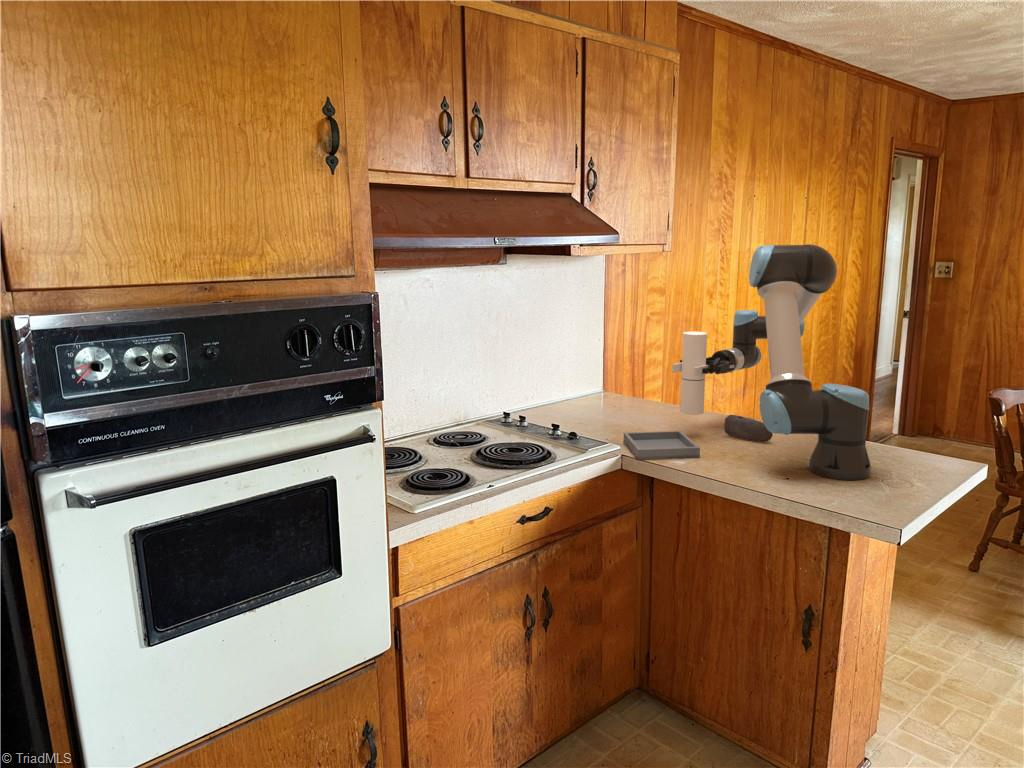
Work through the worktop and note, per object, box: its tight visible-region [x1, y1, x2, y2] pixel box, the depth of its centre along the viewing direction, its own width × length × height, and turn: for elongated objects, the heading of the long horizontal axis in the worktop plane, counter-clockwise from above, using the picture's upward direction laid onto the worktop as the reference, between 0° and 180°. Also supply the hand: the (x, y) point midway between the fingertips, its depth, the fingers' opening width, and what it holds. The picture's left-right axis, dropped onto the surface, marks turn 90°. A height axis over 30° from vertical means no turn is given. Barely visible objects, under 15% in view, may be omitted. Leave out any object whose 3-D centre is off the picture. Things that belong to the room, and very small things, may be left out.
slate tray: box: [623, 430, 701, 461], centre depth 217 cm, size 18×18×3 cm
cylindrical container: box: [679, 331, 708, 416], centre depth 226 cm, size 7×7×25 cm
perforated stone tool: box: [723, 414, 774, 443], centre depth 225 cm, size 15×5×7 cm, turn 46°
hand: (684, 370), depth 223 cm, fingers closed on cylindrical container, 7 cm apart
